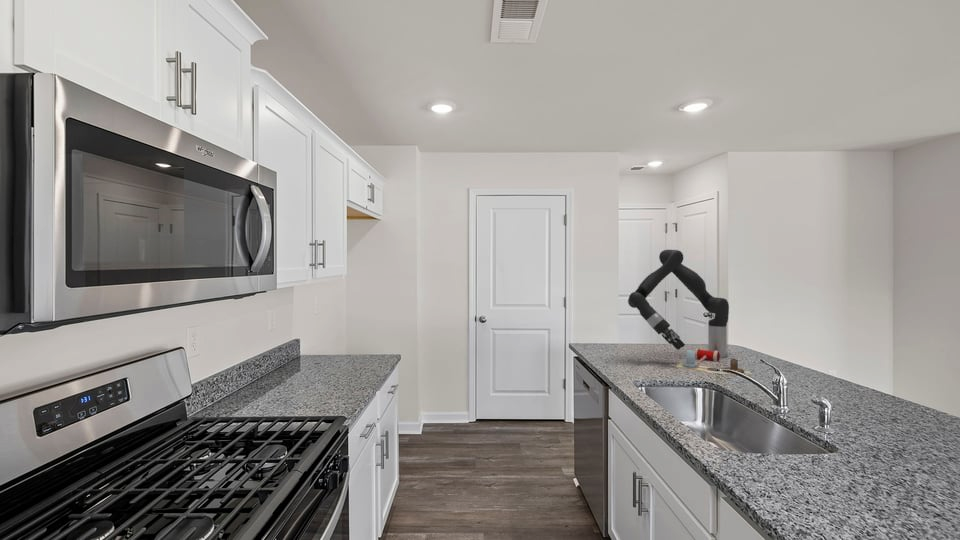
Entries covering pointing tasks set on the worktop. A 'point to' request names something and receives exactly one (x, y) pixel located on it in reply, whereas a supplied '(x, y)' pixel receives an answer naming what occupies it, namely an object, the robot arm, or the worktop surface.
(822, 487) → the worktop surface
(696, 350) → the toy hammer
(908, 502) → the worktop surface
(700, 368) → the gear board
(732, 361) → the gear
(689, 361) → the gear
